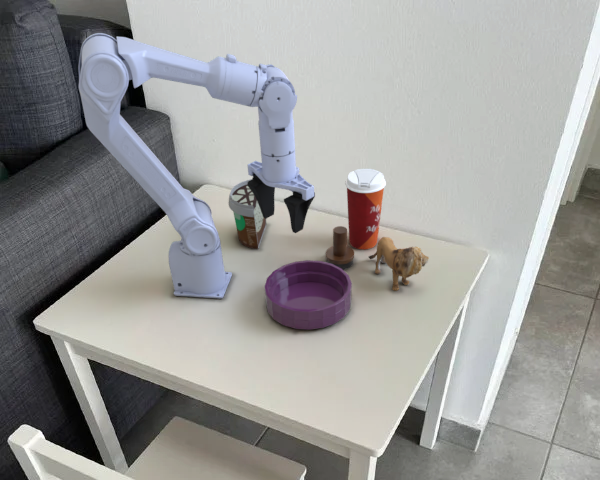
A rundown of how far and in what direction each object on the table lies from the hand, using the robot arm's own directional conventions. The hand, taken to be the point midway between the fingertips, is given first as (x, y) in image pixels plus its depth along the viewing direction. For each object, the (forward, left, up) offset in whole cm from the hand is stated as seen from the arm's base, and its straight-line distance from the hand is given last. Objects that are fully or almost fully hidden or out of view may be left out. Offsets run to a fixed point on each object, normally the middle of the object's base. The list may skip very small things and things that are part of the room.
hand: (283, 223), depth 113 cm
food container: (-10, +12, -11) cm, 19 cm away
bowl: (+6, -10, -10) cm, 16 cm away
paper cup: (+14, +12, -11) cm, 21 cm away
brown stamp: (+10, +4, -10) cm, 15 cm away
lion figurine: (+21, 0, -11) cm, 23 cm away
